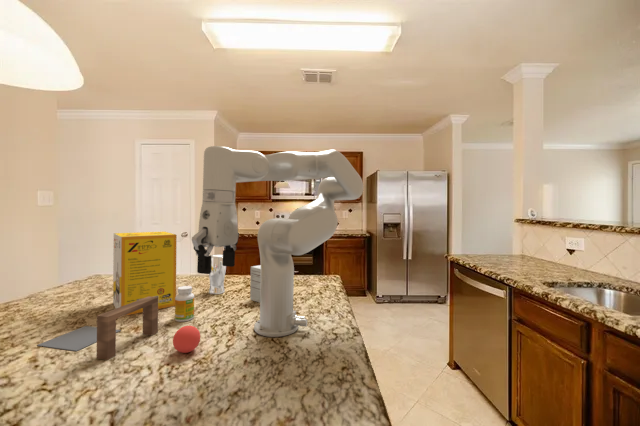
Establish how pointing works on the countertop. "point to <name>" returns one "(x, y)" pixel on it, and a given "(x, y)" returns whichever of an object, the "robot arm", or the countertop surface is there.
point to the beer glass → (217, 274)
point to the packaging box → (144, 268)
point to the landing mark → (74, 339)
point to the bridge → (108, 319)
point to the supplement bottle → (184, 304)
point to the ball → (186, 339)
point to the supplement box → (255, 283)
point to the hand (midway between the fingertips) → (217, 269)
